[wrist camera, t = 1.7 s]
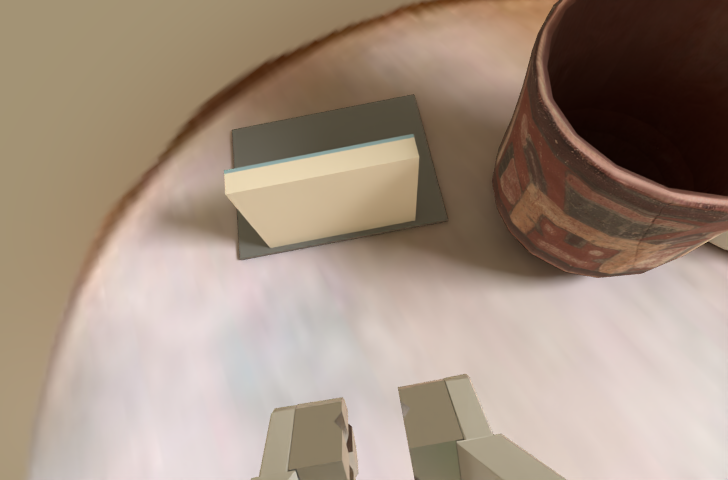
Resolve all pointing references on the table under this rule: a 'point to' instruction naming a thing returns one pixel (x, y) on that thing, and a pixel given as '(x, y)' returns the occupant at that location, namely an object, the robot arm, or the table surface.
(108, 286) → the table surface
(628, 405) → the table surface
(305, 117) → the mat
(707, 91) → the pottery
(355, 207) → the tile
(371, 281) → the table surface
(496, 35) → the table surface
